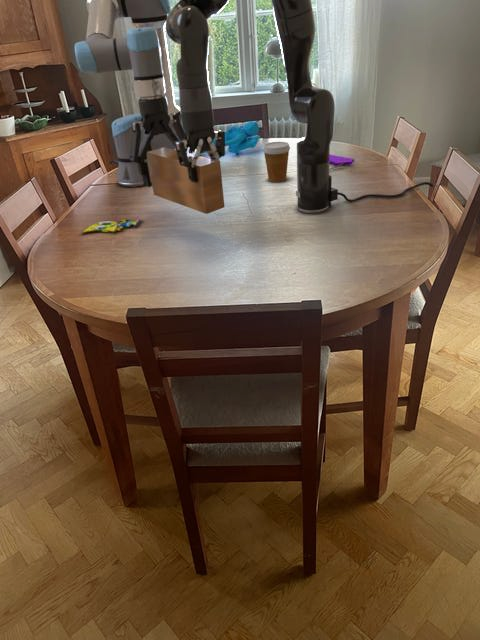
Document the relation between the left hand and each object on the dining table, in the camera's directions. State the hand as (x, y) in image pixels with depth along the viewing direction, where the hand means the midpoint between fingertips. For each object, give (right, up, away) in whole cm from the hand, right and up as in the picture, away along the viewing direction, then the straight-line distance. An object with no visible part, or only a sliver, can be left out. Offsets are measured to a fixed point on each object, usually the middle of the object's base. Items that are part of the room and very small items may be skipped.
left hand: (165, 180), depth 136 cm
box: (+7, -7, -4) cm, 10 cm away
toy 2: (+15, +33, +73) cm, 82 cm away
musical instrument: (+53, +21, +49) cm, 75 cm away
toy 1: (-18, -12, +9) cm, 23 cm away
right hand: (+12, -4, -15) cm, 20 cm away
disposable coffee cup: (+35, +11, +36) cm, 51 cm away
